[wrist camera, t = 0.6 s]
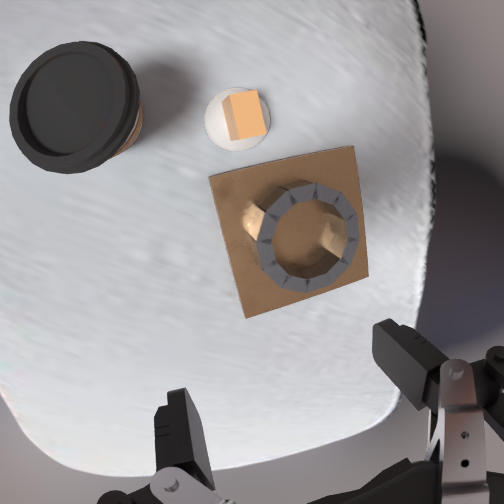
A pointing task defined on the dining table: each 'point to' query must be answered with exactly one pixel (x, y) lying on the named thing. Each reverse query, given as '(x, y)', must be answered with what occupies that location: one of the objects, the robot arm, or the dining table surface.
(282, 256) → the board with grey ring
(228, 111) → the cap
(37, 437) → the dining table surface
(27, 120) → the coffee cup
